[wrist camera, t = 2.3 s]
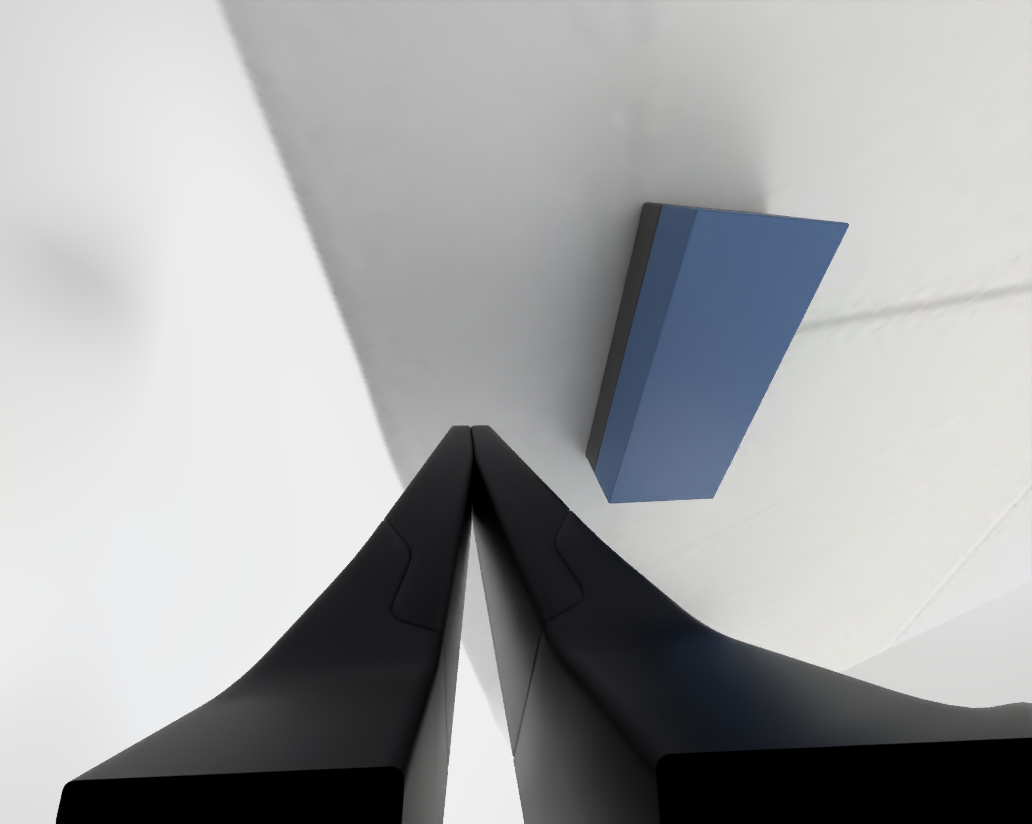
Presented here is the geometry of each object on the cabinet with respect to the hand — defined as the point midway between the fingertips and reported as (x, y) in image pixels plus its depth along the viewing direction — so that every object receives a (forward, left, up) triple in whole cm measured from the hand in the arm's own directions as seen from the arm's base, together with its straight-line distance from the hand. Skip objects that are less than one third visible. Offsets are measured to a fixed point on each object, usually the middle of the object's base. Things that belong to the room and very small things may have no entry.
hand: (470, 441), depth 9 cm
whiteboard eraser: (-2, -7, -6) cm, 9 cm away
